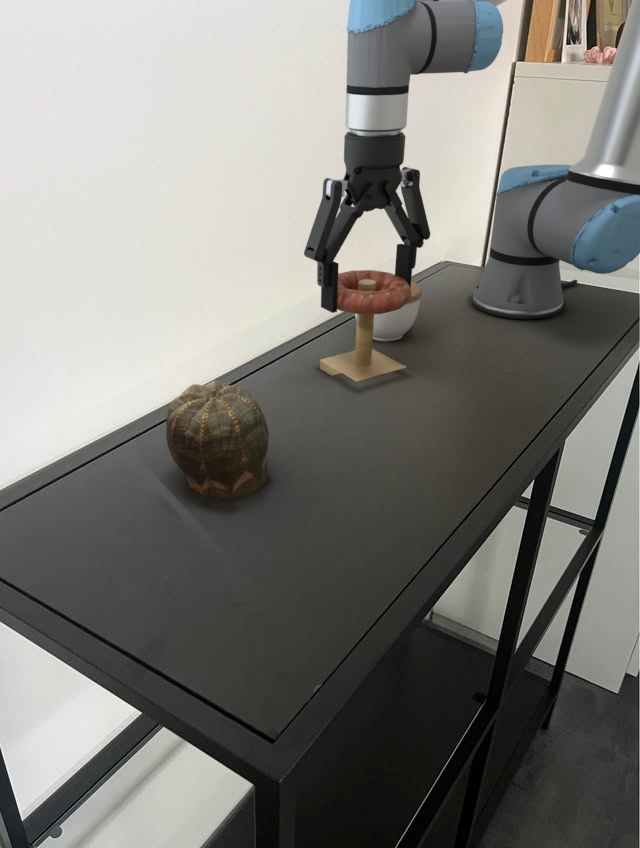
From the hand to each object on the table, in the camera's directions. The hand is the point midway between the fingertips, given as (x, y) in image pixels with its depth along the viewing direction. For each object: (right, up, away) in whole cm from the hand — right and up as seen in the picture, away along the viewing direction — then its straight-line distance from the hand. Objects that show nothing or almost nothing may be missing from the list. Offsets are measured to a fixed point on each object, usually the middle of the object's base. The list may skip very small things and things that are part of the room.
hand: (366, 300), depth 106 cm
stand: (0, -9, +6) cm, 11 cm away
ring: (0, +1, -1) cm, 1 cm away
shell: (-19, -26, -20) cm, 37 cm away
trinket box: (+5, -1, +18) cm, 19 cm away
